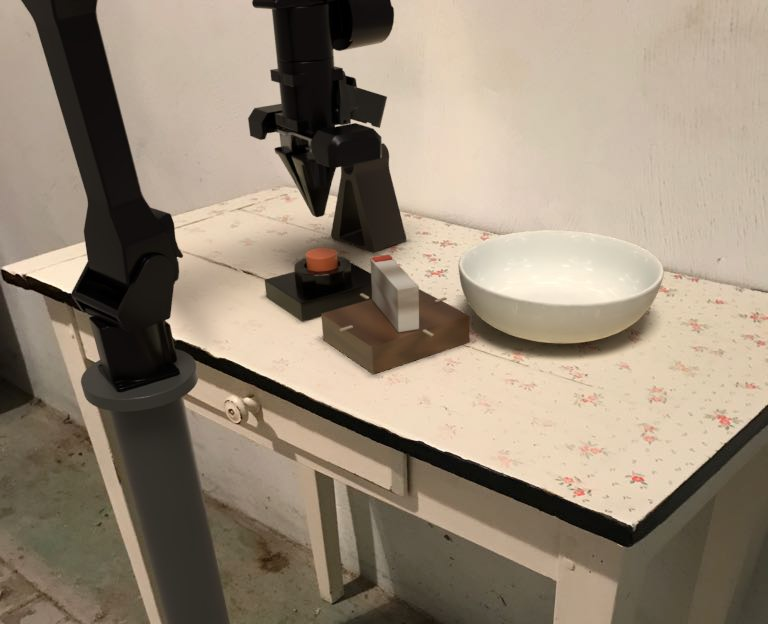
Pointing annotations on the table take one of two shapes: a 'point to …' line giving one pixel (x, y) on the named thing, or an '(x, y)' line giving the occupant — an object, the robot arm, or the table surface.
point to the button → (321, 259)
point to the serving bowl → (559, 284)
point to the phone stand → (368, 206)
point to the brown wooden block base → (394, 333)
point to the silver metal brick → (395, 293)
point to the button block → (319, 289)
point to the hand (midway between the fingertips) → (318, 215)
